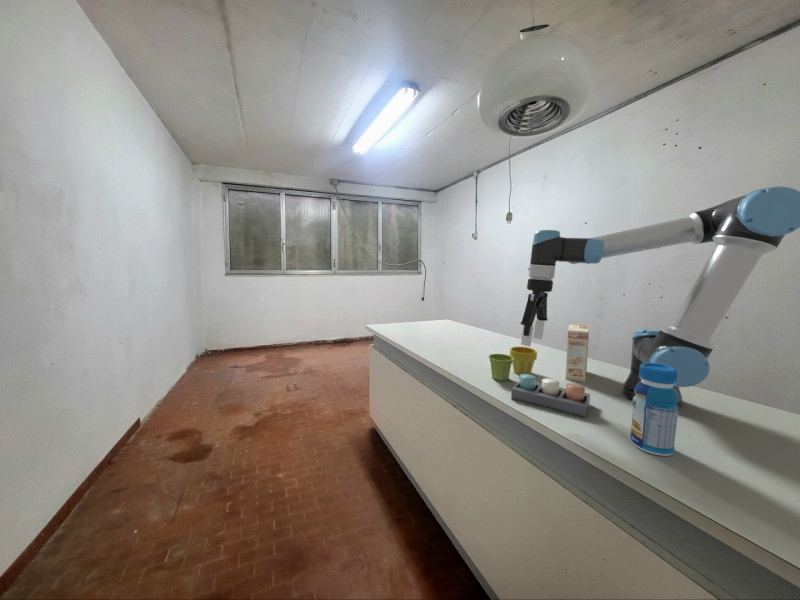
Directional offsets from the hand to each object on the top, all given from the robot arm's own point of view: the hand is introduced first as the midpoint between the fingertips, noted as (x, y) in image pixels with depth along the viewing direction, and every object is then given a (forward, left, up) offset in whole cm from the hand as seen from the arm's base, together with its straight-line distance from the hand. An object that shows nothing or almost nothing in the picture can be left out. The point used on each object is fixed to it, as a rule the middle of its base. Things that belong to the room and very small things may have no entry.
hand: (532, 341), depth 101 cm
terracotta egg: (-13, +2, -16) cm, 21 cm away
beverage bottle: (-31, +14, -19) cm, 39 cm away
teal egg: (+1, +2, -16) cm, 16 cm away
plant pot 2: (+9, -21, -19) cm, 30 cm away
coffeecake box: (-9, -31, -19) cm, 38 cm away
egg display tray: (-6, +2, -19) cm, 20 cm away
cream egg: (-6, +2, -16) cm, 17 cm away
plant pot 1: (+14, -9, -19) cm, 25 cm away
